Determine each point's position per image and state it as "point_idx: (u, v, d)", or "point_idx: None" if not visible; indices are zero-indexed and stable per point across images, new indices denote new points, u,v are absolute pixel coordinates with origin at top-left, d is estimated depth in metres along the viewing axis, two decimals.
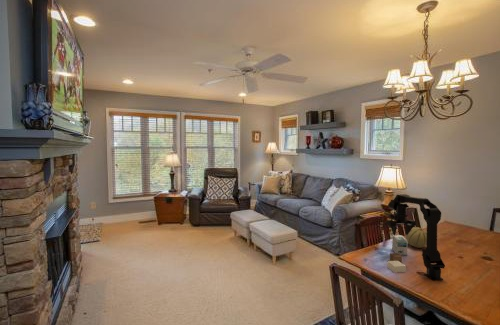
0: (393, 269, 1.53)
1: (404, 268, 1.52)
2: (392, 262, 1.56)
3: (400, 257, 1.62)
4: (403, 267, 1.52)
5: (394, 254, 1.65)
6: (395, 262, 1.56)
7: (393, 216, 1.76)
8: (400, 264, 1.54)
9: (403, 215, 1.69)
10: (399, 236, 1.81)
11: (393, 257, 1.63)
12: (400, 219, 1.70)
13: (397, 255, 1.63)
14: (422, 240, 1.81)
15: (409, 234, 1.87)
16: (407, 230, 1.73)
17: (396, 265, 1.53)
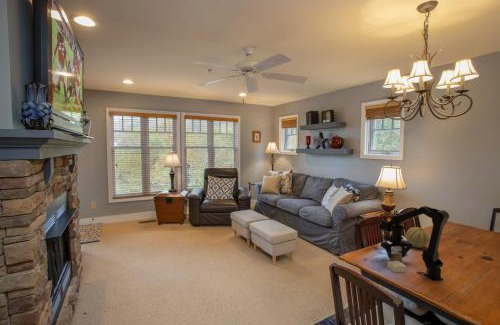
0: (393, 269, 1.53)
1: (404, 268, 1.52)
2: (392, 262, 1.56)
3: (400, 257, 1.62)
4: (403, 267, 1.52)
5: (394, 254, 1.65)
6: (395, 262, 1.56)
7: (388, 238, 1.67)
8: (400, 264, 1.54)
9: (398, 237, 1.61)
10: None
11: (393, 257, 1.63)
12: (395, 241, 1.61)
13: (397, 255, 1.63)
14: (422, 240, 1.81)
15: (409, 234, 1.87)
16: (403, 253, 1.64)
17: (396, 265, 1.53)
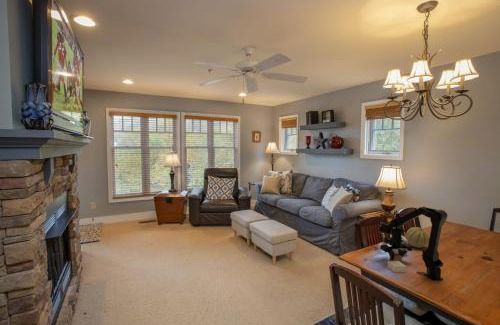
0: (393, 269, 1.53)
1: (404, 268, 1.52)
2: (392, 262, 1.56)
3: (400, 257, 1.62)
4: (403, 267, 1.52)
5: (394, 254, 1.65)
6: (395, 262, 1.56)
7: (388, 240, 1.67)
8: (400, 264, 1.54)
9: (398, 240, 1.61)
10: None
11: None
12: (395, 244, 1.62)
13: (397, 255, 1.63)
14: (422, 240, 1.81)
15: (409, 234, 1.87)
16: None
17: (396, 265, 1.53)
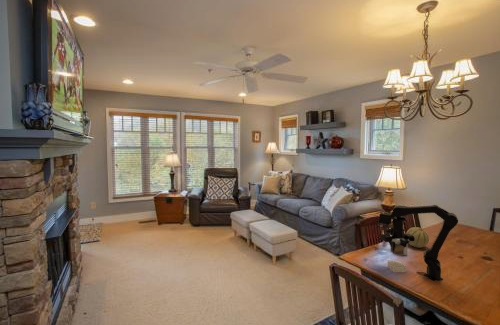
0: (392, 269, 1.53)
1: (404, 268, 1.52)
2: (392, 262, 1.57)
3: (401, 247, 1.53)
4: (403, 267, 1.52)
5: (395, 244, 1.56)
6: (395, 262, 1.56)
7: (389, 230, 1.59)
8: (400, 264, 1.54)
9: (399, 229, 1.52)
10: None
11: None
12: (396, 234, 1.53)
13: (398, 245, 1.55)
14: (422, 240, 1.81)
15: None
16: None
17: (395, 265, 1.53)
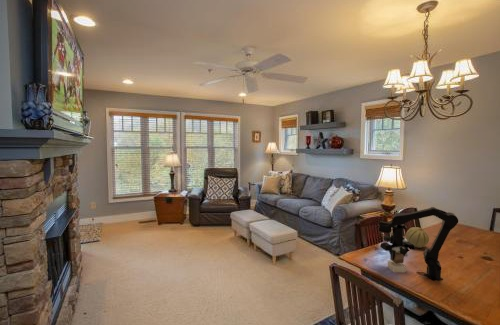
0: (392, 269, 1.53)
1: (404, 268, 1.52)
2: (392, 262, 1.57)
3: (402, 256, 1.52)
4: (403, 267, 1.52)
5: (395, 253, 1.55)
6: None
7: (389, 238, 1.58)
8: (400, 264, 1.54)
9: (400, 238, 1.51)
10: None
11: None
12: (396, 242, 1.52)
13: (398, 254, 1.54)
14: (422, 240, 1.81)
15: (409, 234, 1.87)
16: None
17: (395, 265, 1.53)
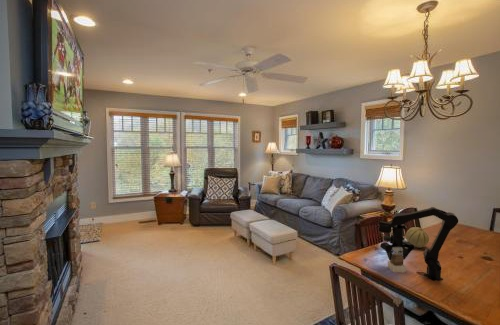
0: (392, 269, 1.53)
1: (404, 268, 1.51)
2: None
3: (401, 258, 1.52)
4: (402, 267, 1.51)
5: (395, 255, 1.55)
6: None
7: (389, 238, 1.58)
8: None
9: (400, 238, 1.51)
10: None
11: (393, 258, 1.54)
12: (396, 242, 1.52)
13: (398, 256, 1.54)
14: (422, 240, 1.81)
15: (409, 234, 1.87)
16: (404, 254, 1.55)
17: None
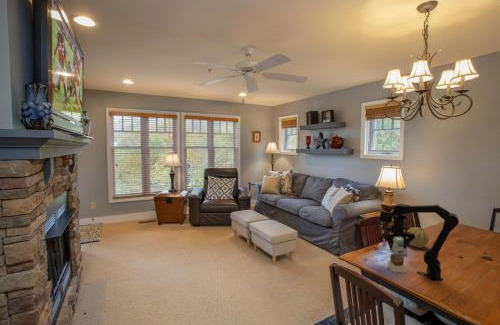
0: (392, 269, 1.53)
1: (404, 269, 1.51)
2: None
3: (401, 258, 1.52)
4: (403, 267, 1.51)
5: (395, 255, 1.55)
6: None
7: (389, 228, 1.59)
8: None
9: (401, 227, 1.52)
10: None
11: (394, 258, 1.54)
12: (397, 232, 1.53)
13: (398, 256, 1.54)
14: (422, 240, 1.81)
15: None
16: (405, 244, 1.56)
17: None
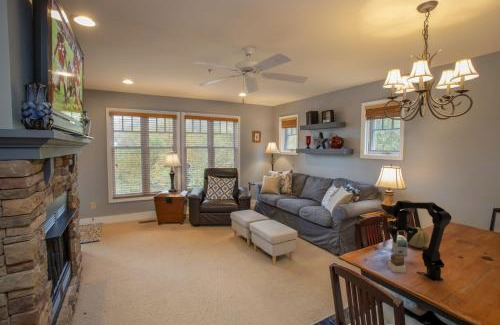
0: (392, 269, 1.53)
1: (404, 269, 1.51)
2: None
3: (402, 258, 1.52)
4: (403, 268, 1.51)
5: (396, 255, 1.55)
6: None
7: (394, 223, 1.69)
8: None
9: (404, 222, 1.62)
10: (399, 236, 1.81)
11: (394, 258, 1.53)
12: (401, 226, 1.63)
13: (399, 256, 1.53)
14: (422, 240, 1.81)
15: None
16: (408, 237, 1.66)
17: None
